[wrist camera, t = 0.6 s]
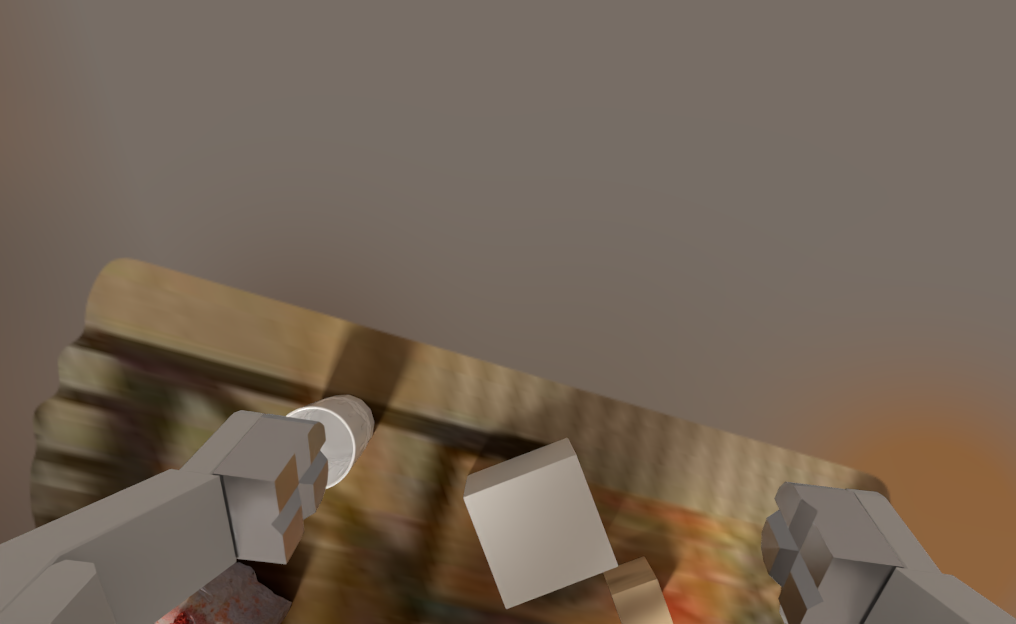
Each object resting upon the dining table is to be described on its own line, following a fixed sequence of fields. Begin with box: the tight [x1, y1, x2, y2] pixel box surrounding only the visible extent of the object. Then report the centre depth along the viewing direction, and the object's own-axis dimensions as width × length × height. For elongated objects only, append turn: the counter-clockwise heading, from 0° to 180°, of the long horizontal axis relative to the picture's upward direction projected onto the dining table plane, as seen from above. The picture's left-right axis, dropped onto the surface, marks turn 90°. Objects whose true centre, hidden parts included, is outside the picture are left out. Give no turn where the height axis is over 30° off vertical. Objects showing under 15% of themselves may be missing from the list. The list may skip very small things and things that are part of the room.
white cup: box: [286, 395, 375, 489], centre depth 54 cm, size 8×8×10 cm
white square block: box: [463, 437, 618, 609], centre depth 56 cm, size 12×12×7 cm
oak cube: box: [603, 556, 673, 624], centre depth 57 cm, size 5×5×5 cm
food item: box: [154, 562, 292, 624], centre depth 54 cm, size 14×8×10 cm, turn 57°
